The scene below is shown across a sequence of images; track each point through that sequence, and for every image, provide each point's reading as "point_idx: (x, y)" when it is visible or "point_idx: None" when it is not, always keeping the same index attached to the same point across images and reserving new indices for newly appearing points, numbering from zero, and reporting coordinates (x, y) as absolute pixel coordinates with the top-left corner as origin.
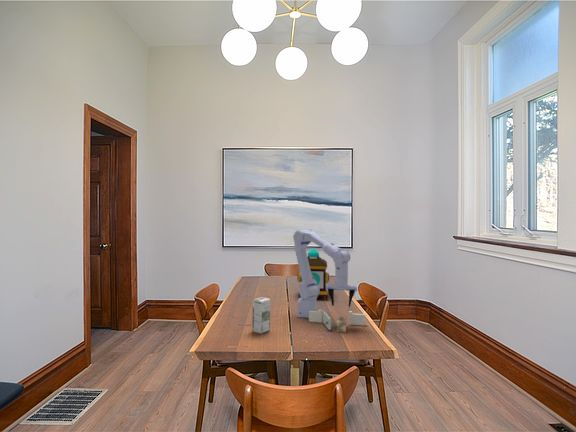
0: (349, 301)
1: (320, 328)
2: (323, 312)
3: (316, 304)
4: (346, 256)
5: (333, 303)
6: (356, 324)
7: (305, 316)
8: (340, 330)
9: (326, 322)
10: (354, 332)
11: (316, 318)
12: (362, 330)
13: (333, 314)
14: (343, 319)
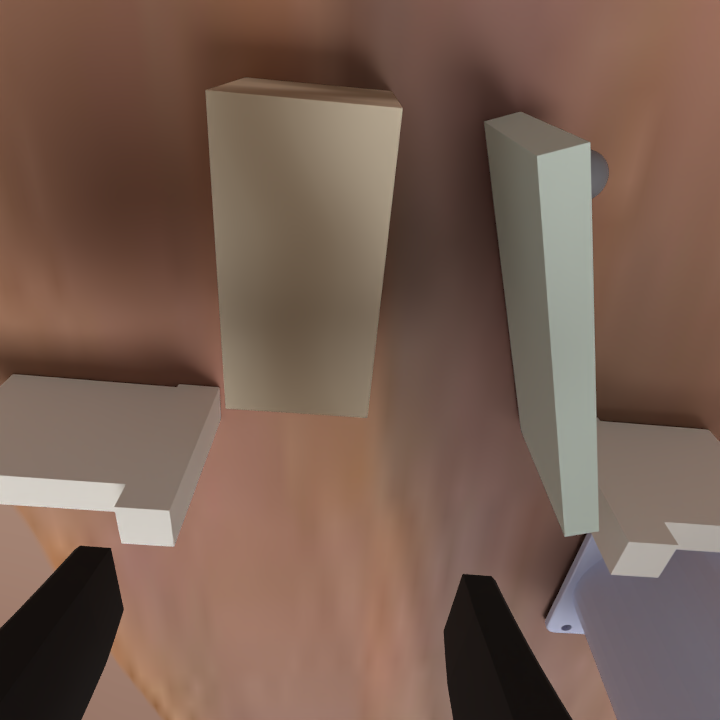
0: (10, 666)
1: (621, 213)
2: (596, 493)
3: (628, 707)
4: None
5: (477, 615)
6: (122, 386)
7: None
8: (330, 87)
9: (597, 158)
10: (109, 91)
11: (639, 453)
12: (8, 198)
13: (390, 620)
14: (265, 286)
